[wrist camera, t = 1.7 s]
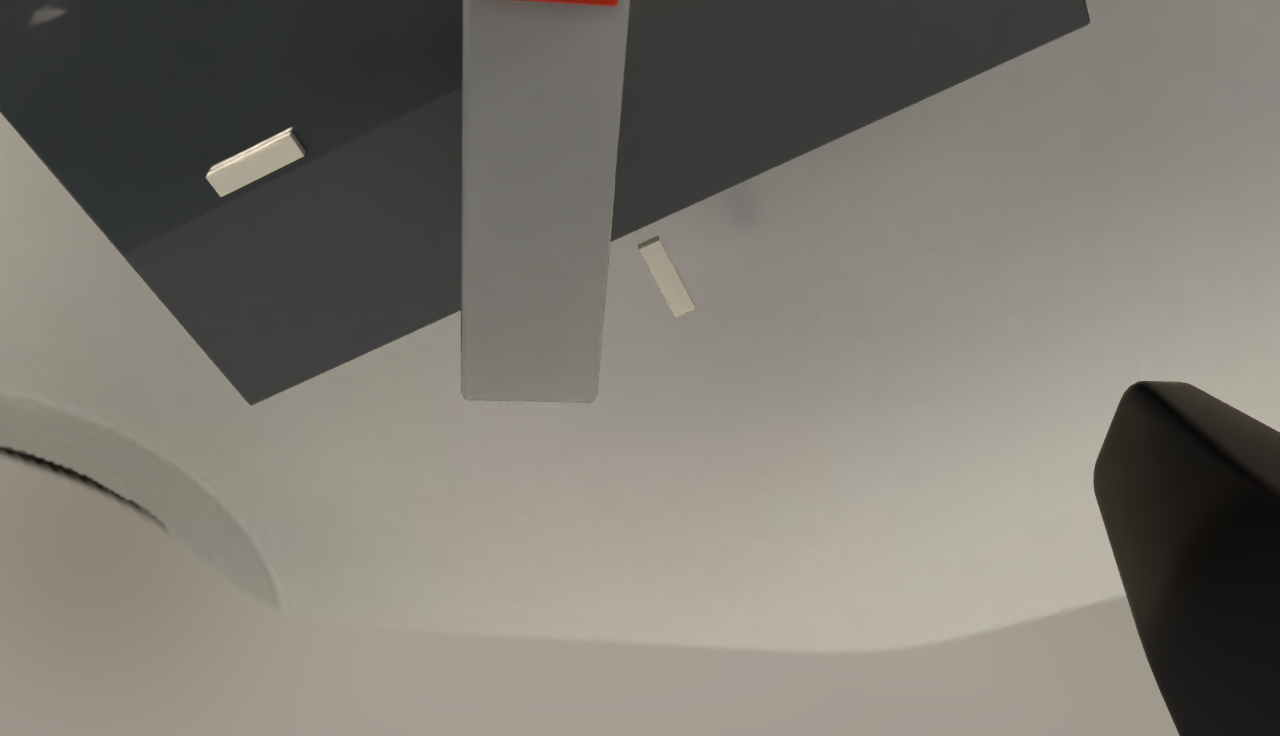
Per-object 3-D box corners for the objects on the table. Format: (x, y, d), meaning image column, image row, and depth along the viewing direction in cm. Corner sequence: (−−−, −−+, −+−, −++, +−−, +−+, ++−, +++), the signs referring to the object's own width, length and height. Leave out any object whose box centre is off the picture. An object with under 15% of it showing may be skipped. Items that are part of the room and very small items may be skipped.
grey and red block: (579, 226, 18) (598, 418, 14) (471, 222, 17) (459, 415, 14) (610, -215, 14) (645, -127, 10) (476, -227, 14) (461, -141, 10)
